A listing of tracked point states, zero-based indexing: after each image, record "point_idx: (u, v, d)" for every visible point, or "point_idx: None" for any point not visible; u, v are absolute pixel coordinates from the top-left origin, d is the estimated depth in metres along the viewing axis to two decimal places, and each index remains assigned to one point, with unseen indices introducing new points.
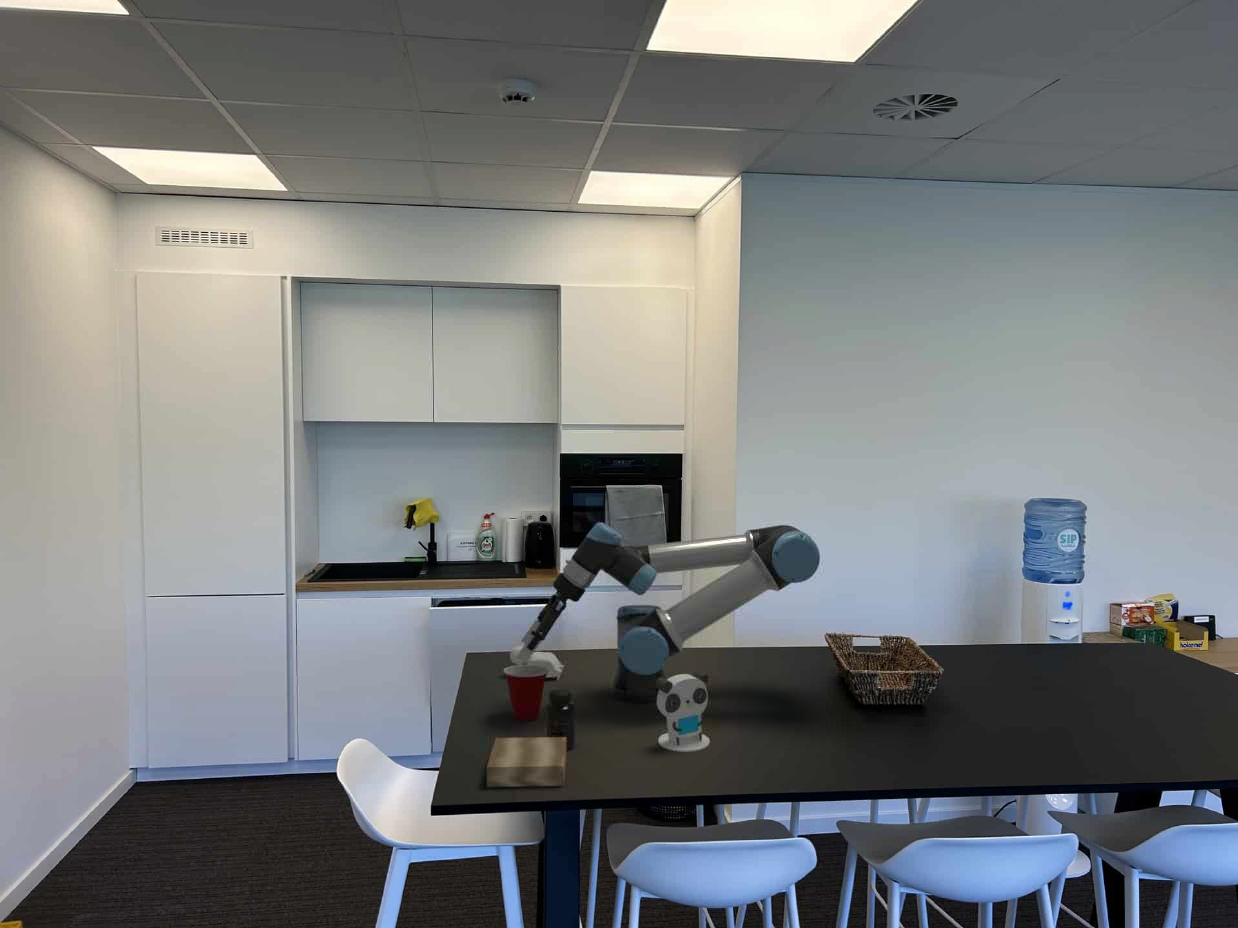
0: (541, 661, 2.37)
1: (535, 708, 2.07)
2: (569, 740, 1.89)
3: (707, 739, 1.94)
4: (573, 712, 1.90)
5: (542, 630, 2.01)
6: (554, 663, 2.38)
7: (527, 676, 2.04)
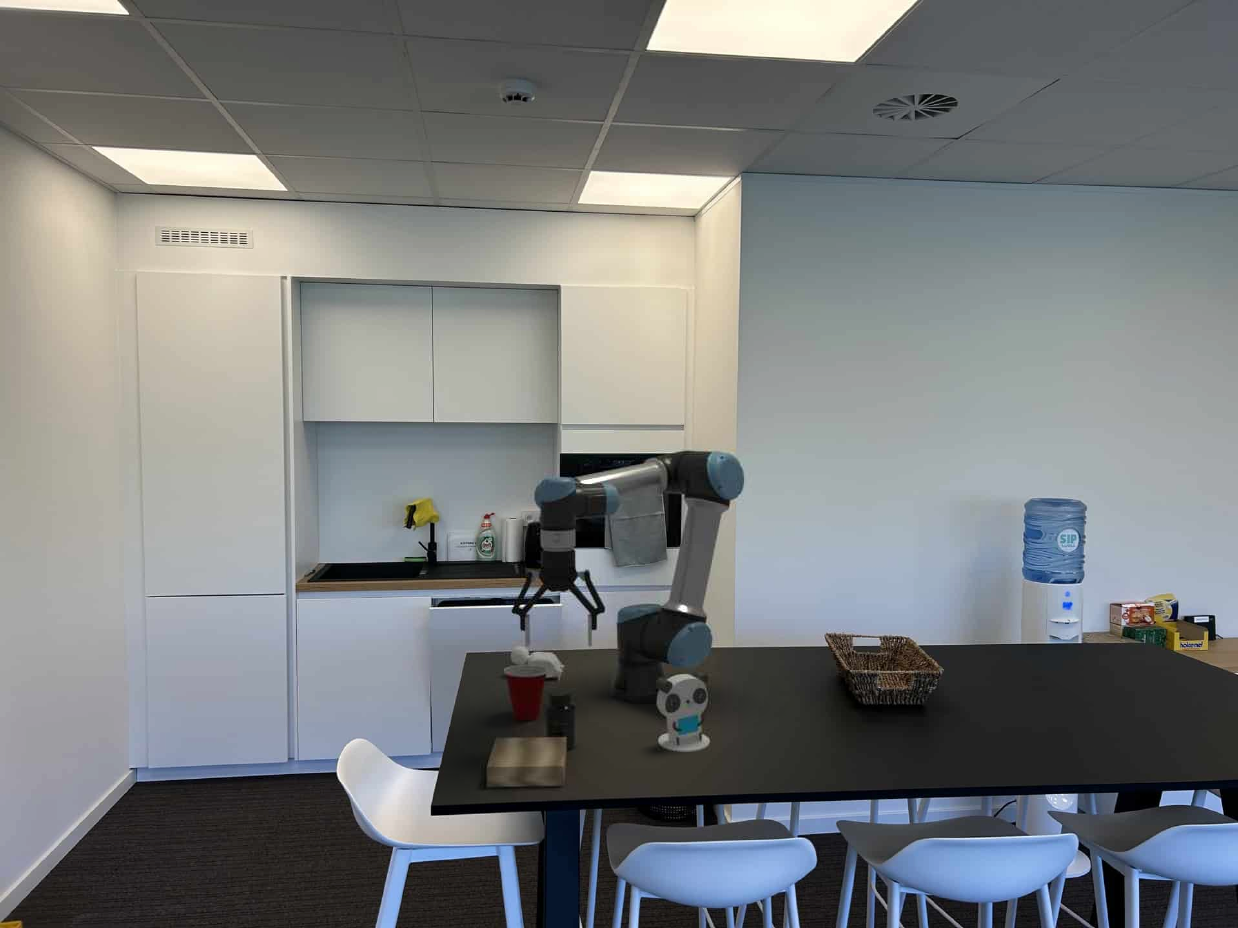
0: (542, 661, 2.37)
1: (535, 708, 2.07)
2: (569, 740, 1.89)
3: (707, 739, 1.94)
4: (573, 712, 1.90)
5: (602, 603, 1.90)
6: (555, 663, 2.38)
7: (527, 676, 2.04)
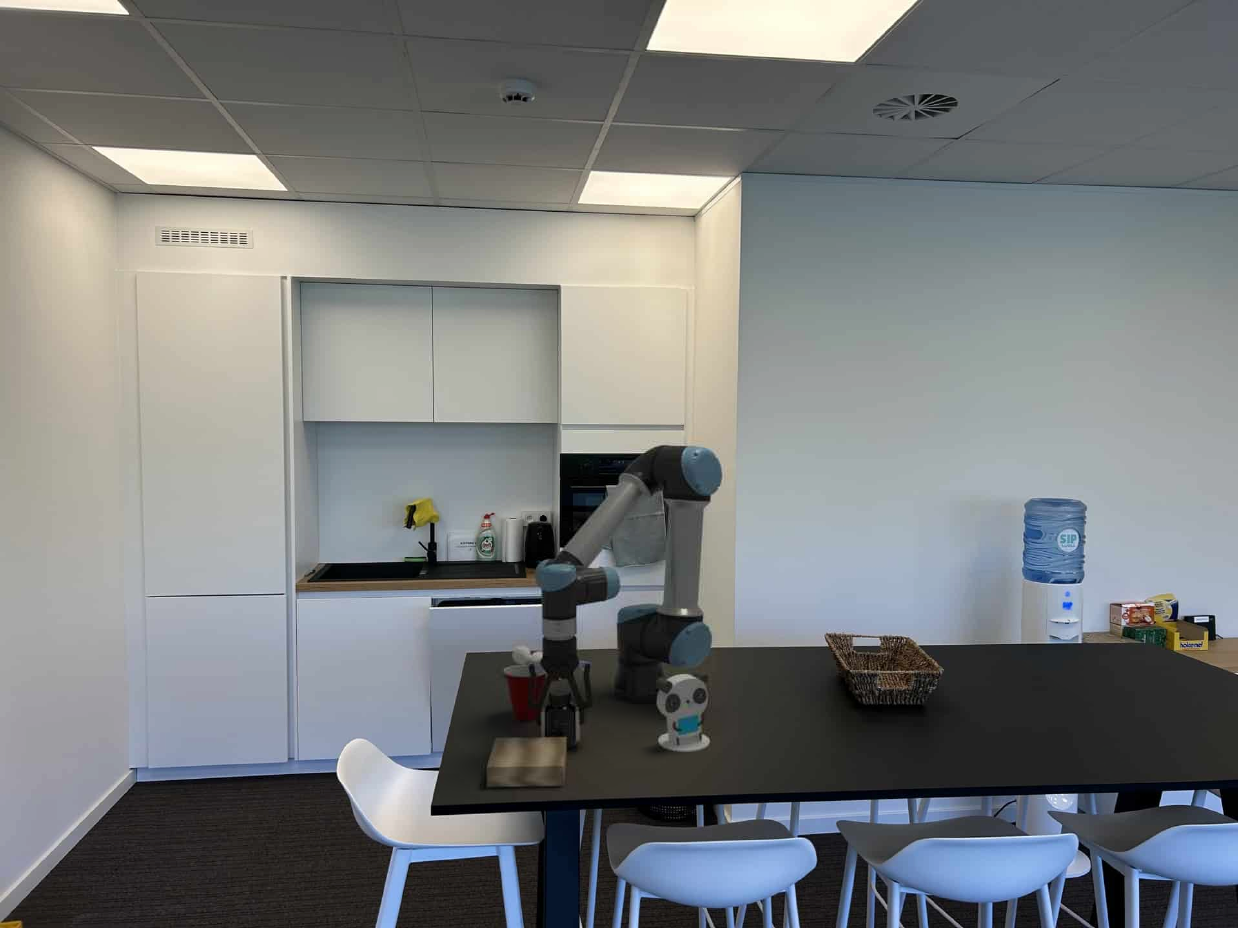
0: None
1: None
2: (569, 740, 1.89)
3: (707, 739, 1.94)
4: (573, 712, 1.90)
5: None
6: None
7: (527, 676, 2.04)
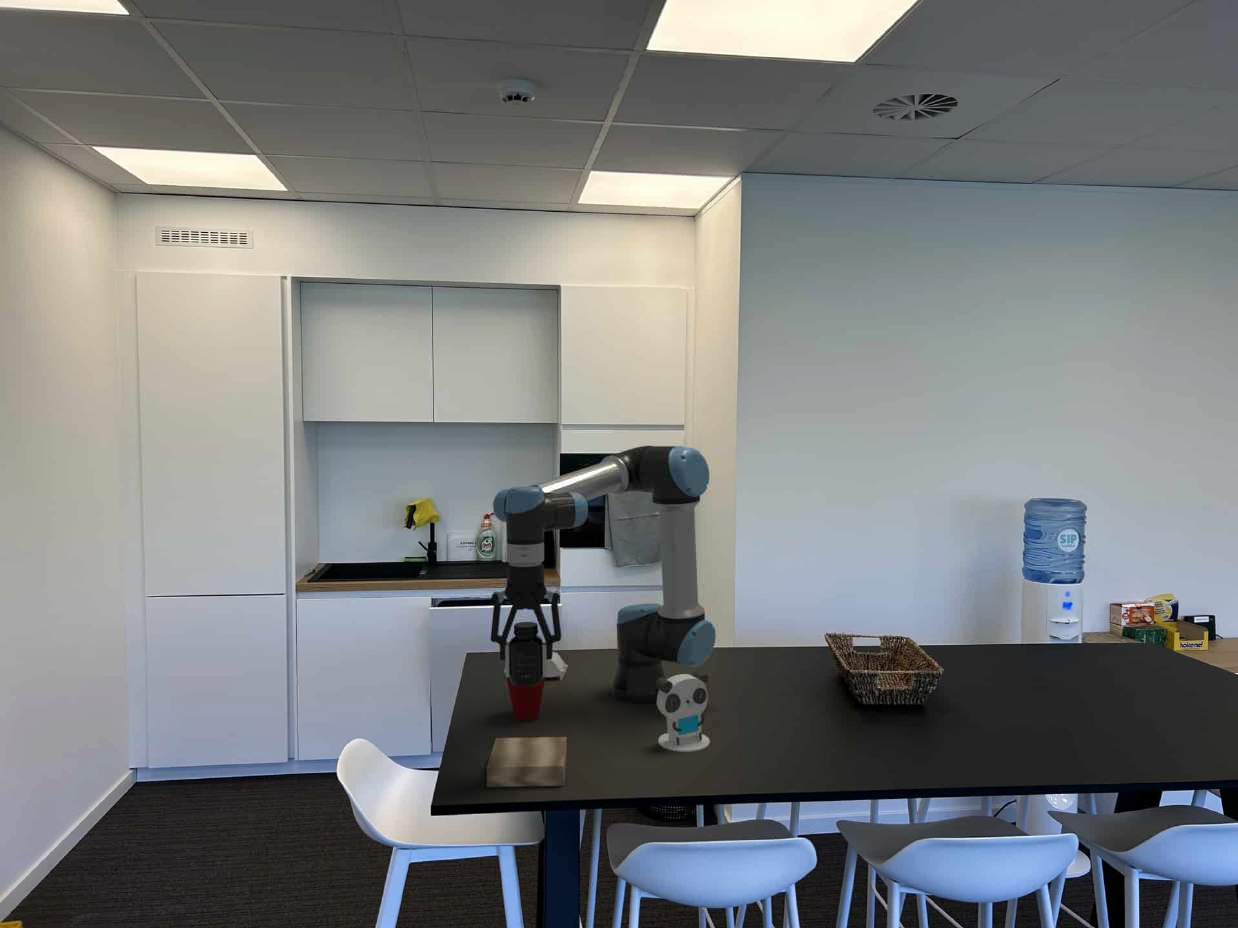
0: None
1: (535, 708, 2.07)
2: (535, 676, 1.75)
3: (707, 739, 1.94)
4: (540, 645, 1.76)
5: (560, 631, 1.77)
6: (557, 663, 2.38)
7: None
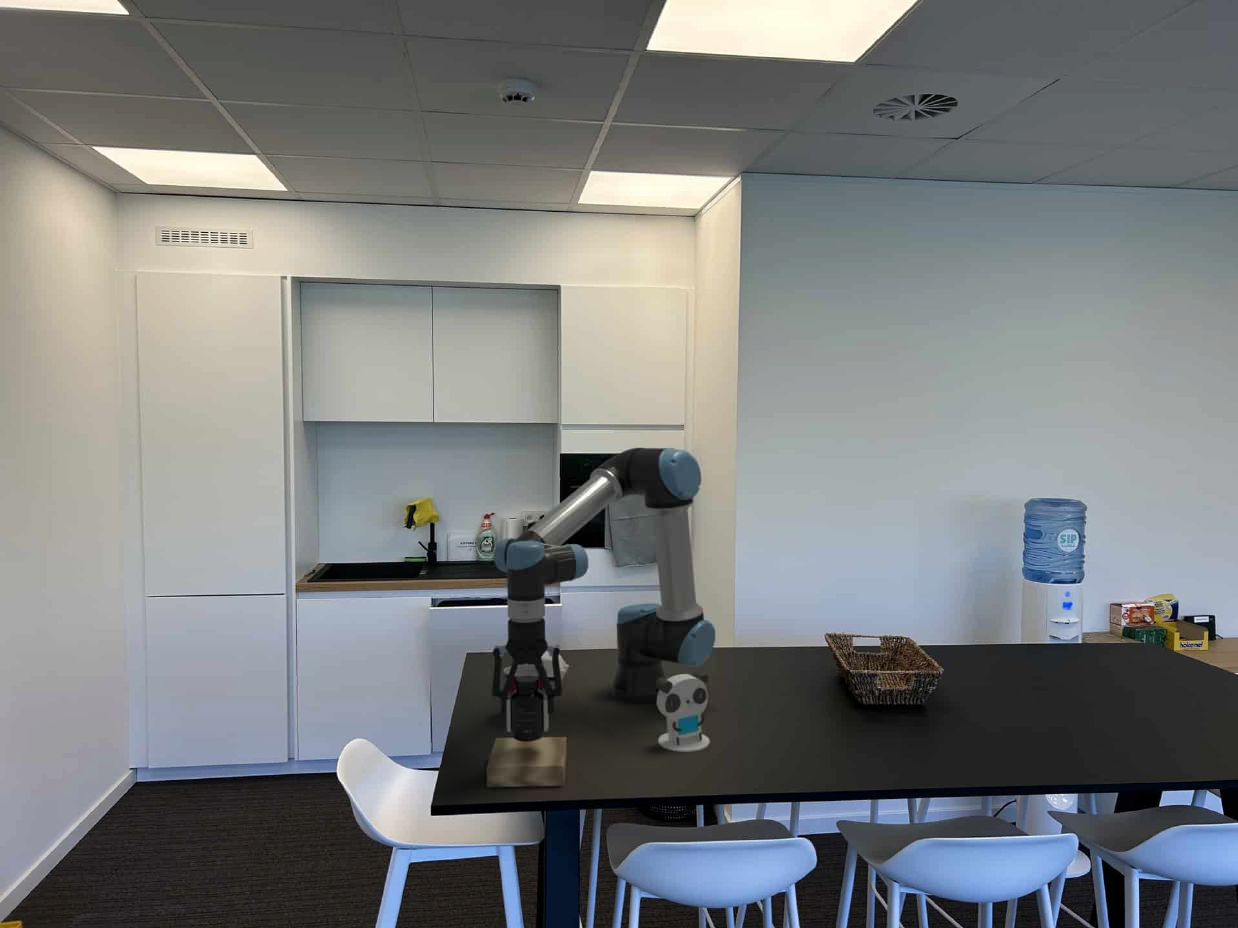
0: (545, 660, 2.37)
1: None
2: (536, 730, 1.76)
3: (707, 739, 1.94)
4: (541, 700, 1.76)
5: (561, 685, 1.78)
6: None
7: None
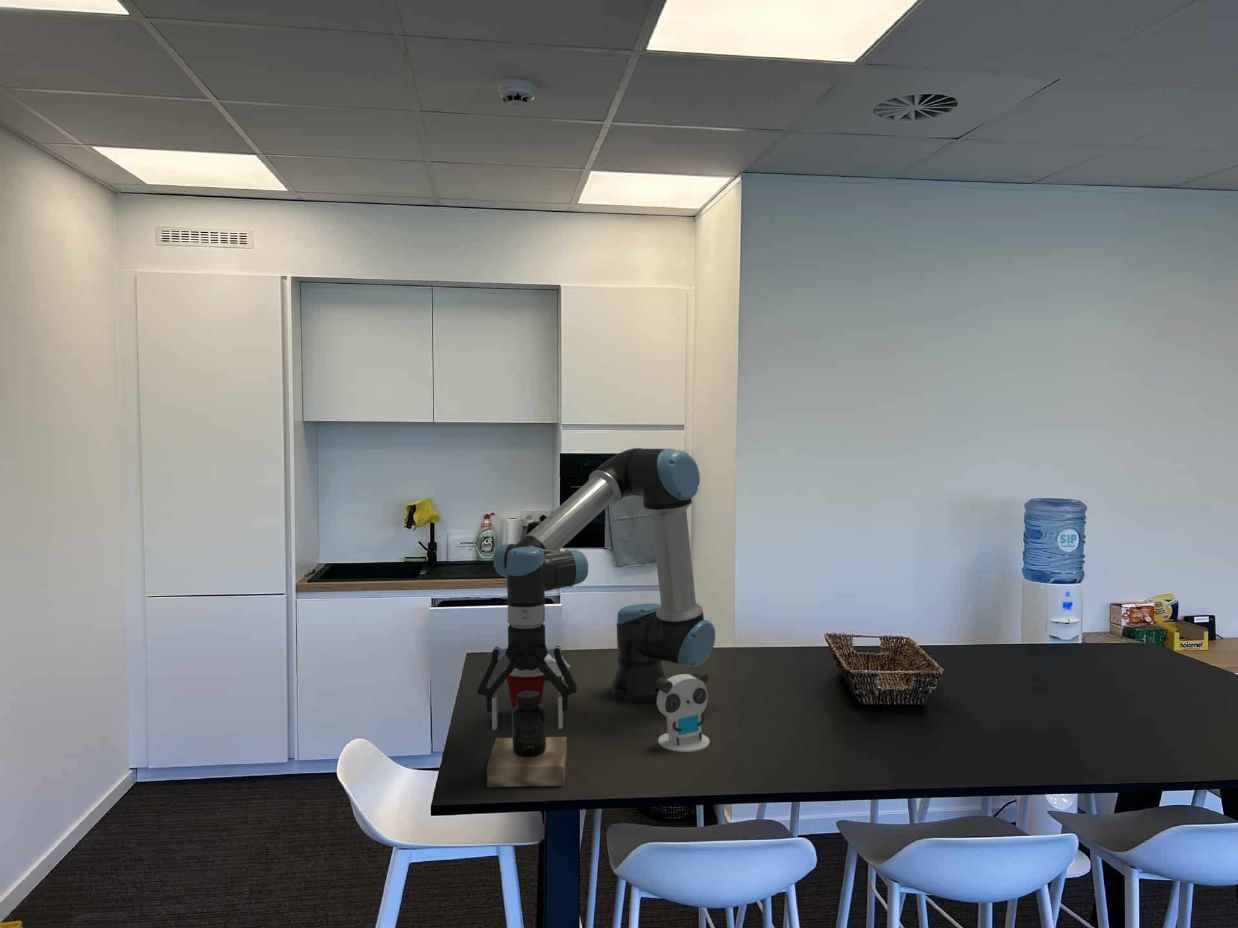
0: (546, 660, 2.38)
1: None
2: (538, 746, 1.76)
3: (707, 739, 1.94)
4: (542, 715, 1.77)
5: (573, 682, 1.78)
6: None
7: (527, 676, 2.04)
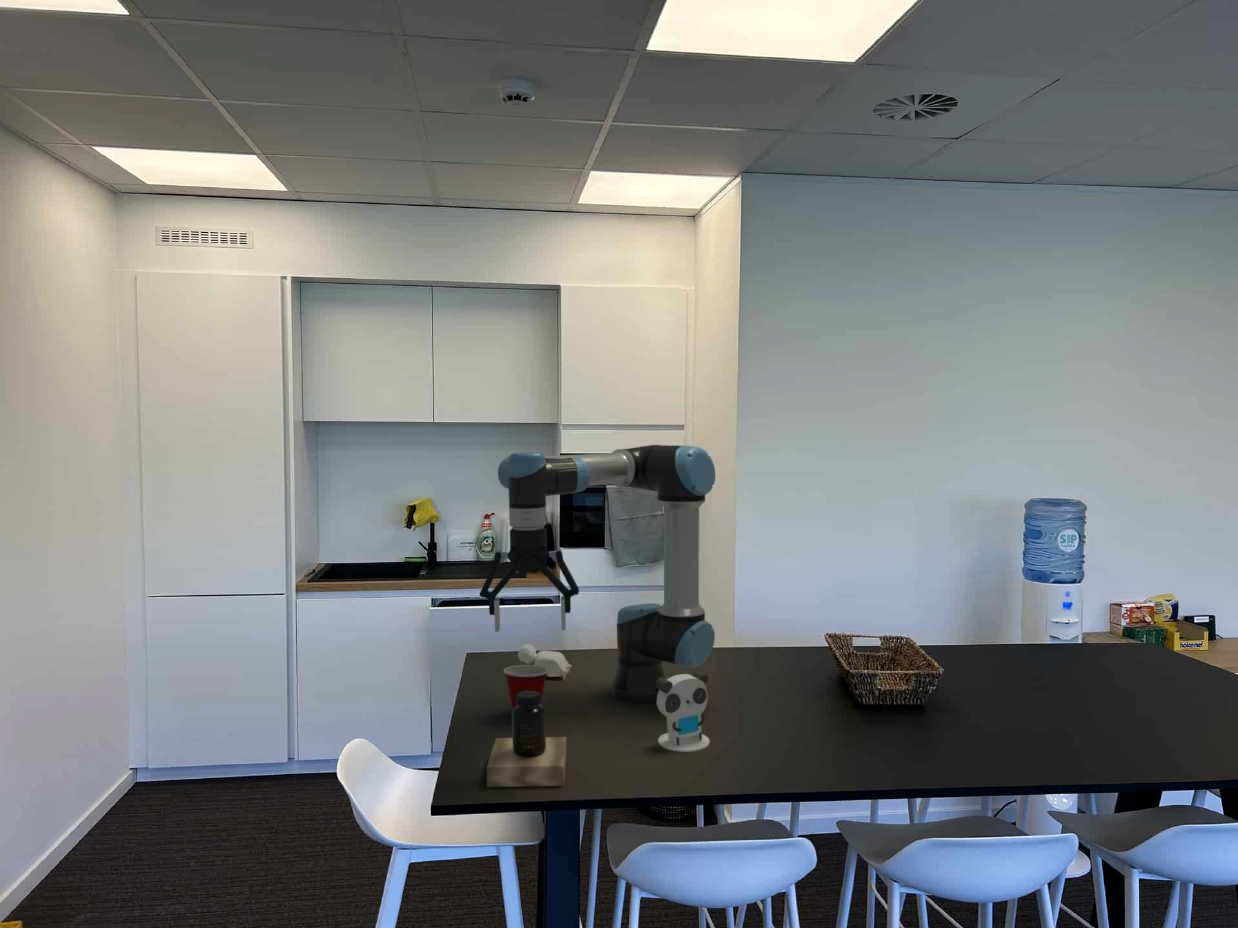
0: (547, 660, 2.38)
1: None
2: (538, 746, 1.76)
3: (707, 739, 1.94)
4: (542, 715, 1.77)
5: (576, 584, 1.79)
6: (560, 662, 2.38)
7: (527, 676, 2.04)
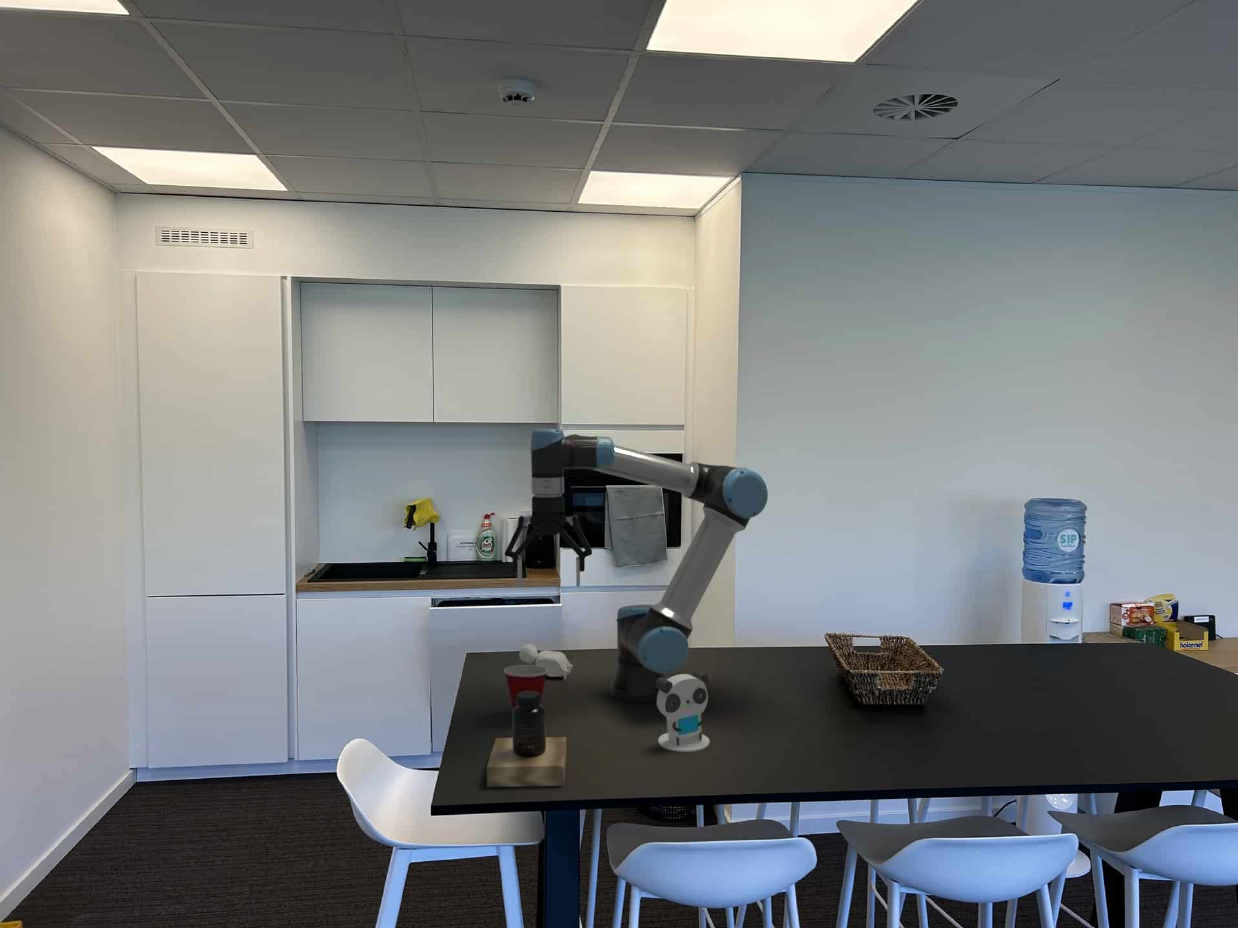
0: (548, 660, 2.38)
1: None
2: (538, 746, 1.76)
3: (707, 739, 1.94)
4: (542, 715, 1.77)
5: (589, 546, 2.03)
6: (561, 662, 2.38)
7: (527, 676, 2.04)
